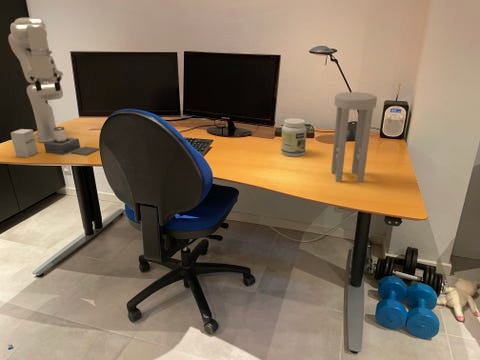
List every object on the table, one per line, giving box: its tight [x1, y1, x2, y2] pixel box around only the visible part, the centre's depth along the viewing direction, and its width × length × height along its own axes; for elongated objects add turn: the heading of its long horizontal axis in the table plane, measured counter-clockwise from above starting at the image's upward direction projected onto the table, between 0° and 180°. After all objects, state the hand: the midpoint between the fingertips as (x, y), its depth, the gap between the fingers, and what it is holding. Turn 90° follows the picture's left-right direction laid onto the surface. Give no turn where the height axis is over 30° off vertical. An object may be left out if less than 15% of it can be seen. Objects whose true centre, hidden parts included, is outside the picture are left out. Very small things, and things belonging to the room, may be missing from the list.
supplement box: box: [10, 128, 39, 158], centre depth 190 cm, size 7×7×13 cm
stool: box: [330, 91, 378, 183], centre depth 155 cm, size 16×16×35 cm
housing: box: [43, 136, 81, 156], centre depth 198 cm, size 12×12×5 cm
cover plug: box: [53, 126, 67, 143], centre depth 196 cm, size 5×5×12 cm
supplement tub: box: [280, 117, 307, 158], centre depth 187 cm, size 12×12×17 cm
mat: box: [70, 146, 100, 157], centre depth 196 cm, size 10×10×1 cm
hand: (48, 90), depth 181 cm, fingers open, 9 cm apart
